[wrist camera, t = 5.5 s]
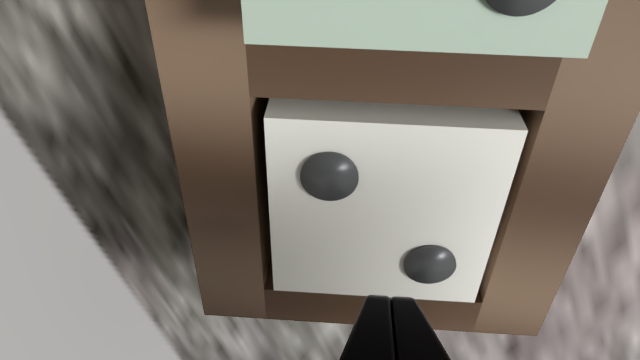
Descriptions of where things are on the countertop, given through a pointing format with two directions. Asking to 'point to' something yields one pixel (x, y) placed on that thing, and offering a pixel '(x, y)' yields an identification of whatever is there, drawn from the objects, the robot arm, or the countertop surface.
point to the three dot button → (428, 25)
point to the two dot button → (386, 195)
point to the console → (397, 88)
